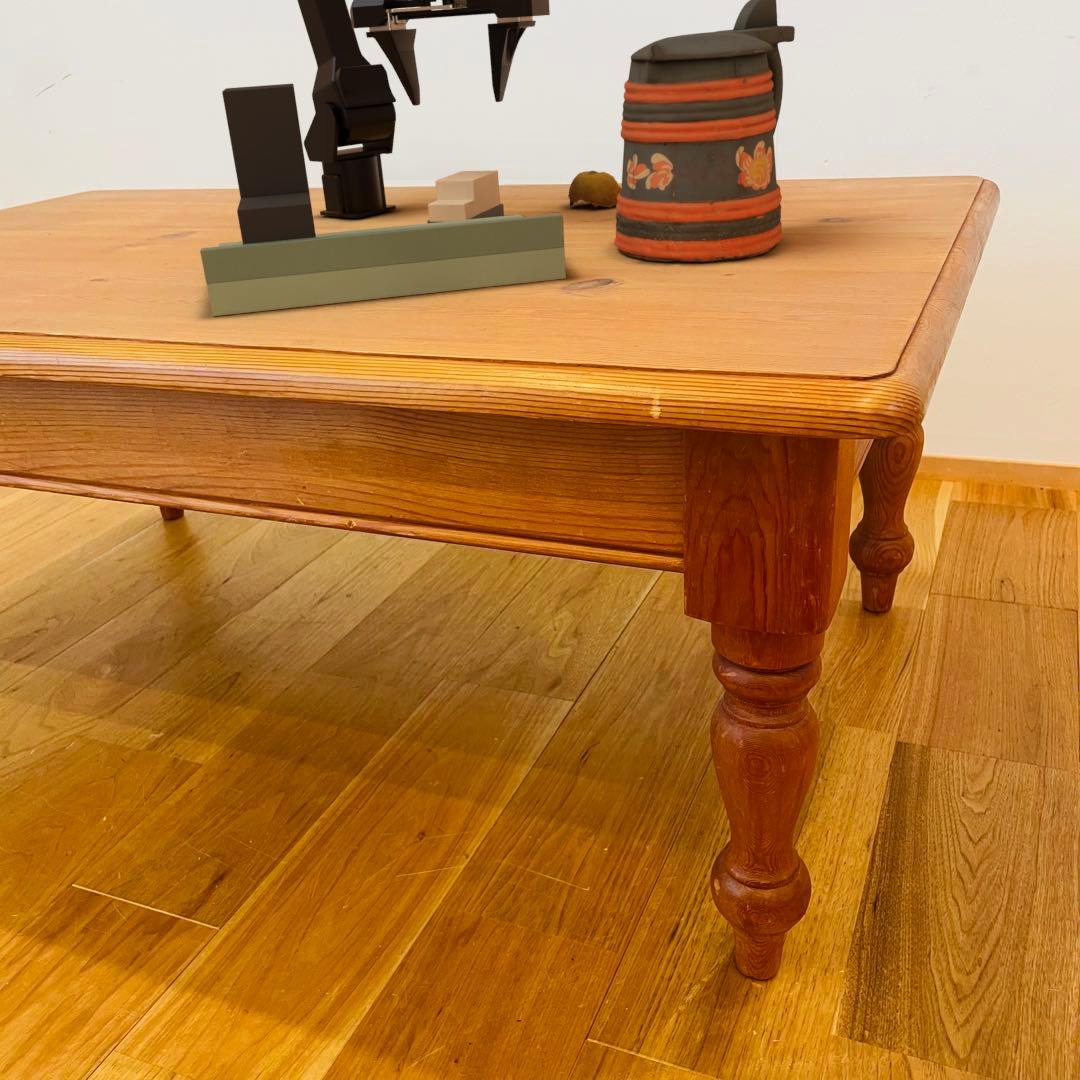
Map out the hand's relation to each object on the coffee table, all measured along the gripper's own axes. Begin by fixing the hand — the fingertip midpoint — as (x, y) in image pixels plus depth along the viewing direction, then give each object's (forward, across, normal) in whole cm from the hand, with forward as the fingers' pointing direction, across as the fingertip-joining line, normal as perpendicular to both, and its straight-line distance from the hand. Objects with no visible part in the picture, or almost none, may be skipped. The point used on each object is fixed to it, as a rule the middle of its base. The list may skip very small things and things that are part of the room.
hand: (457, 103), depth 107 cm
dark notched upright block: (+10, +4, +28) cm, 30 cm away
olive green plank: (+12, -1, +22) cm, 25 cm away
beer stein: (+12, -27, +8) cm, 31 cm away
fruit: (+12, -11, -14) cm, 22 cm away
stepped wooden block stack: (+12, 0, 0) cm, 12 cm away
